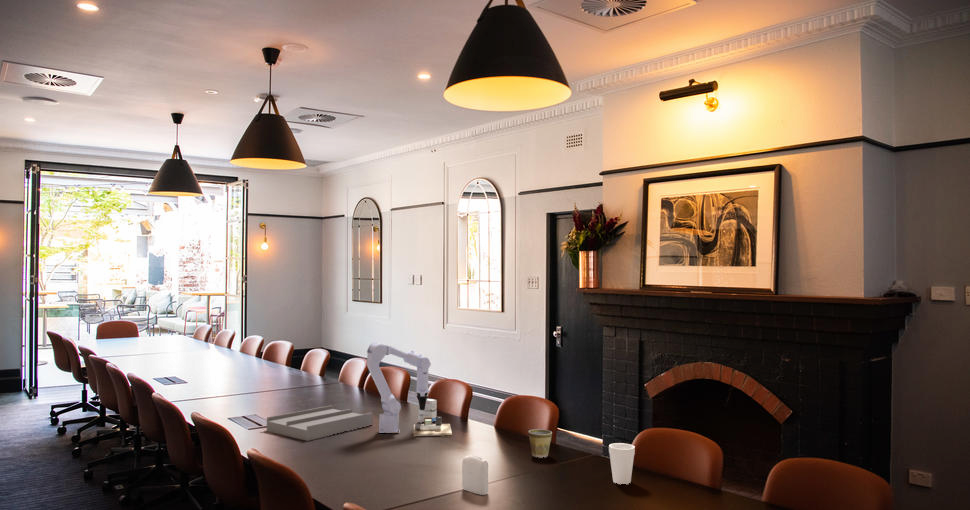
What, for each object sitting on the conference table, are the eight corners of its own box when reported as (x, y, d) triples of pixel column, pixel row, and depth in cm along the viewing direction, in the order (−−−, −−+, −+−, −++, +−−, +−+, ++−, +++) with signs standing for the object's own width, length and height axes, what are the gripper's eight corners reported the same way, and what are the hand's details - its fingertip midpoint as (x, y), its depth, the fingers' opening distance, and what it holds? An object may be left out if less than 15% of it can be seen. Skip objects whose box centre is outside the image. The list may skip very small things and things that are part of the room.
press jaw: (425, 427, 315) (425, 420, 315) (425, 426, 318) (425, 419, 318) (431, 427, 315) (431, 420, 315) (431, 426, 318) (431, 419, 318)
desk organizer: (266, 431, 313) (266, 417, 313) (331, 418, 345) (331, 405, 345) (307, 441, 294) (307, 426, 294) (372, 426, 326) (372, 412, 326)
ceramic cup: (550, 459, 267) (550, 435, 267) (526, 458, 269) (526, 433, 269) (553, 451, 279) (553, 428, 280) (530, 450, 281) (531, 427, 282)
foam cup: (616, 476, 244) (616, 441, 245) (639, 481, 238) (639, 445, 239) (604, 482, 237) (604, 446, 237) (627, 487, 231) (627, 450, 232)
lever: (414, 430, 309) (415, 418, 309) (414, 429, 312) (414, 417, 312) (441, 429, 311) (441, 417, 311) (441, 428, 314) (441, 416, 314)
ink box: (436, 422, 336) (437, 399, 336) (431, 424, 331) (431, 400, 332) (423, 420, 340) (424, 397, 340) (418, 422, 336) (418, 399, 336)
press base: (413, 436, 303) (413, 425, 304) (413, 427, 323) (414, 416, 323) (451, 436, 305) (451, 424, 305) (449, 426, 325) (449, 415, 325)
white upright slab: (460, 489, 227) (460, 454, 228) (468, 487, 230) (469, 452, 231) (481, 496, 220) (481, 460, 220) (490, 493, 223) (490, 457, 224)
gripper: (430, 383, 315) (430, 411, 314) (430, 378, 329) (430, 405, 329) (416, 383, 314) (415, 411, 314) (416, 378, 329) (416, 405, 328)
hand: (422, 408), depth 321 cm, fingers open, 7 cm apart
